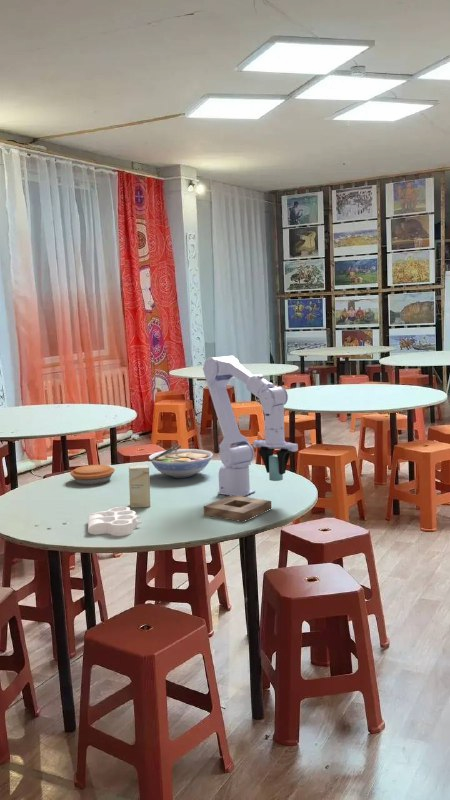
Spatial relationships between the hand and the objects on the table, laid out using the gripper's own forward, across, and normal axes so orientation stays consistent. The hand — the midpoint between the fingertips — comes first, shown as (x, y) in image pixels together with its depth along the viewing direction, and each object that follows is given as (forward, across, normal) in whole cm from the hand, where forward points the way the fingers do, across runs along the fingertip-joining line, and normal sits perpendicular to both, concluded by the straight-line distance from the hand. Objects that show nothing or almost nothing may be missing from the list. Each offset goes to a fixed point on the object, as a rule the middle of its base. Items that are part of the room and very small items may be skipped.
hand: (275, 472), depth 214 cm
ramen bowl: (+10, -49, +14) cm, 52 cm away
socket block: (+9, -5, -13) cm, 17 cm away
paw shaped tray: (+10, -27, -41) cm, 50 cm away
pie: (+10, -72, -7) cm, 73 cm away
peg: (+2, 0, 0) cm, 2 cm away
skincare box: (+10, -35, -22) cm, 42 cm away
